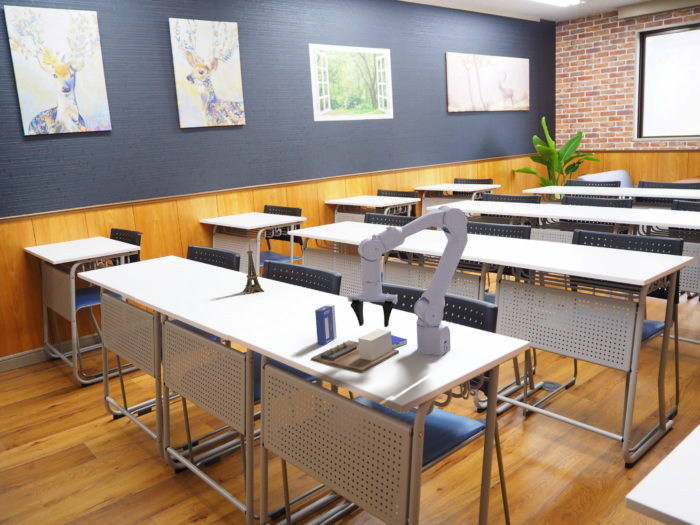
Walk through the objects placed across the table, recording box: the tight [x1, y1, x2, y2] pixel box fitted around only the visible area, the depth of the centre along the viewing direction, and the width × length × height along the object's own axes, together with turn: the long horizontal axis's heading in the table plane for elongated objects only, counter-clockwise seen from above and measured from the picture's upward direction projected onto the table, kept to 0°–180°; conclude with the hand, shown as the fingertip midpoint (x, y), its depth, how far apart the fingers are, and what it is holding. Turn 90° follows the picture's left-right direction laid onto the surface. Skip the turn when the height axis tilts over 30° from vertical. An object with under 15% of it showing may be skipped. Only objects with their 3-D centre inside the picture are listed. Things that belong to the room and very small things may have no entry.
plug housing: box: [357, 328, 392, 361], centre depth 168 cm, size 5×10×6 cm, turn 141°
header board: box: [310, 340, 400, 373], centre depth 169 cm, size 19×18×3 cm
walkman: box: [314, 303, 338, 346], centre depth 183 cm, size 8×3×12 cm, turn 152°
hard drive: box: [391, 334, 408, 349], centre depth 180 cm, size 2×8×12 cm
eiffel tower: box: [243, 244, 265, 295], centre depth 247 cm, size 11×11×25 cm
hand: (373, 325), depth 167 cm, fingers open, 7 cm apart
